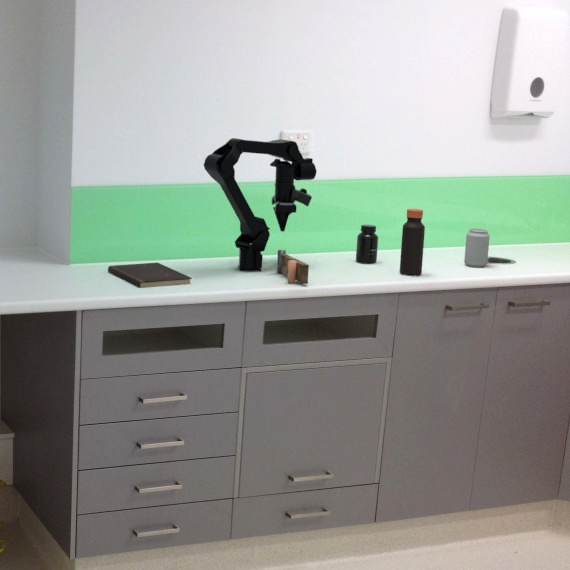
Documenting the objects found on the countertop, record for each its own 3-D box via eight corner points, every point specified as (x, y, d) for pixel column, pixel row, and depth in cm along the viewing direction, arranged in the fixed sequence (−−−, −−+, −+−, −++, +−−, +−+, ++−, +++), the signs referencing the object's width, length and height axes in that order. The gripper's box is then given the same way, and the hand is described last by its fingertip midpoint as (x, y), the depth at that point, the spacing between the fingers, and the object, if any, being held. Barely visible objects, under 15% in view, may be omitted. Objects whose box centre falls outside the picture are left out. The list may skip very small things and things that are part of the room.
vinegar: (408, 270, 337) (413, 207, 332) (425, 274, 332) (430, 210, 328) (395, 273, 332) (399, 209, 328) (412, 276, 327) (416, 212, 323)
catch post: (288, 283, 310) (289, 261, 308) (286, 281, 312) (287, 259, 311) (296, 283, 310) (297, 261, 309) (294, 281, 312) (296, 260, 311)
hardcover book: (157, 269, 323) (157, 262, 322) (191, 285, 304) (191, 277, 303) (107, 273, 315) (107, 265, 314) (139, 289, 295) (139, 281, 295)
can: (461, 266, 348) (464, 229, 346) (466, 262, 355) (469, 226, 353) (484, 268, 346) (487, 232, 343) (489, 265, 353) (492, 229, 350)
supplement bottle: (375, 264, 344) (377, 228, 341) (354, 263, 345) (356, 226, 343) (377, 261, 350) (380, 224, 348) (357, 259, 352) (359, 223, 349)
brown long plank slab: (280, 272, 322) (280, 254, 321) (285, 272, 323) (286, 254, 321) (301, 283, 307) (302, 265, 306) (307, 283, 308) (308, 264, 307)
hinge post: (277, 273, 322) (278, 251, 321) (276, 272, 325) (277, 249, 323) (285, 274, 323) (286, 251, 321) (284, 272, 325) (285, 249, 324)
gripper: (314, 185, 321) (311, 237, 324) (307, 178, 339) (305, 227, 342) (277, 184, 319) (274, 236, 323) (272, 177, 338) (270, 226, 341)
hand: (282, 231), depth 332 cm, fingers closed
